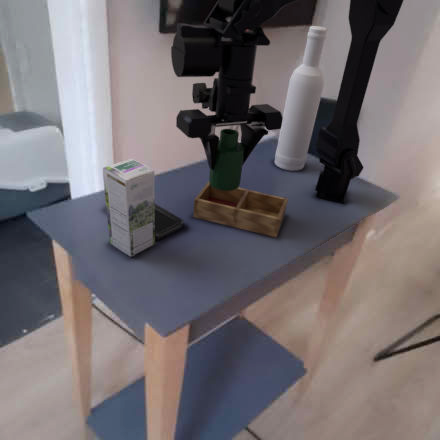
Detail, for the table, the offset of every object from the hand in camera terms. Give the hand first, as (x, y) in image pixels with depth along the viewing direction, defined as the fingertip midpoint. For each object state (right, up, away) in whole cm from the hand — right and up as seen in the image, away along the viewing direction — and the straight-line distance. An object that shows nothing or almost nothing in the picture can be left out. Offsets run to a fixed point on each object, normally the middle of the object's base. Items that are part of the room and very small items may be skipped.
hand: (226, 166), depth 75 cm
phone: (-16, -10, +2) cm, 19 cm away
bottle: (+17, +9, +28) cm, 34 cm away
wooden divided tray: (+3, -8, +6) cm, 11 cm away
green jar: (0, -3, +2) cm, 4 cm away
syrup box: (-17, -16, -5) cm, 23 cm away
